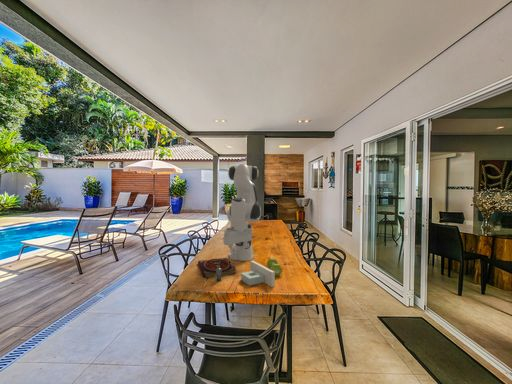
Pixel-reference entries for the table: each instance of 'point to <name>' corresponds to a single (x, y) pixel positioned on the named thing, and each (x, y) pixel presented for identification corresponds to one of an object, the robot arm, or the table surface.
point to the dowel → (218, 274)
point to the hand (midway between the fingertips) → (238, 250)
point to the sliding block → (252, 277)
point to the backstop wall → (264, 272)
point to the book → (210, 267)
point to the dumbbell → (274, 266)
